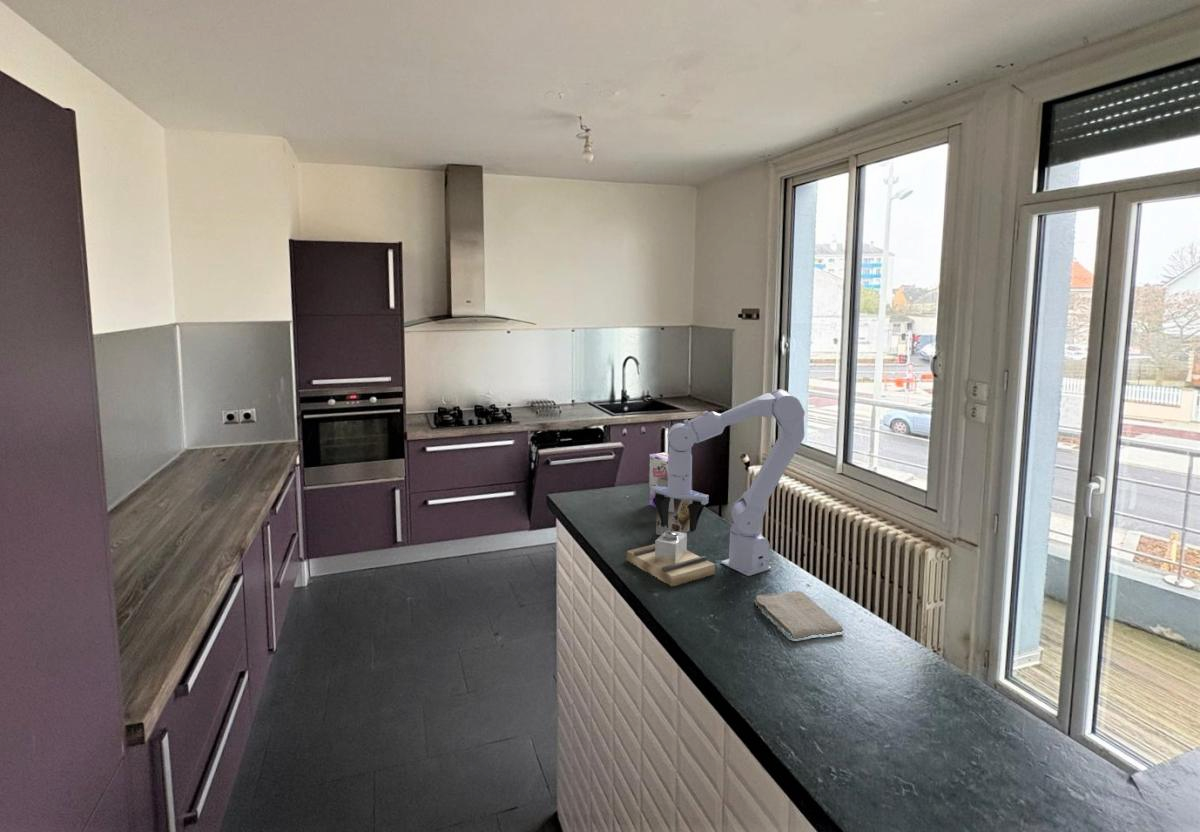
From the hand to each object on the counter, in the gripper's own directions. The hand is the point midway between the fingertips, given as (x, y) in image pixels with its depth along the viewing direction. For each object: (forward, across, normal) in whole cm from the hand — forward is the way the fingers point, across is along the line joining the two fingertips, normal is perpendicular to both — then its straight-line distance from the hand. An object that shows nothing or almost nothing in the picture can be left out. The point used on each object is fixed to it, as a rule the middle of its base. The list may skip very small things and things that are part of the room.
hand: (678, 527), depth 169 cm
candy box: (+10, +21, -36) cm, 43 cm away
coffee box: (+10, +11, -19) cm, 24 cm away
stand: (+9, +1, +3) cm, 10 cm away
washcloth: (+10, -33, +12) cm, 37 cm away
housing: (+7, +1, +2) cm, 7 cm away
